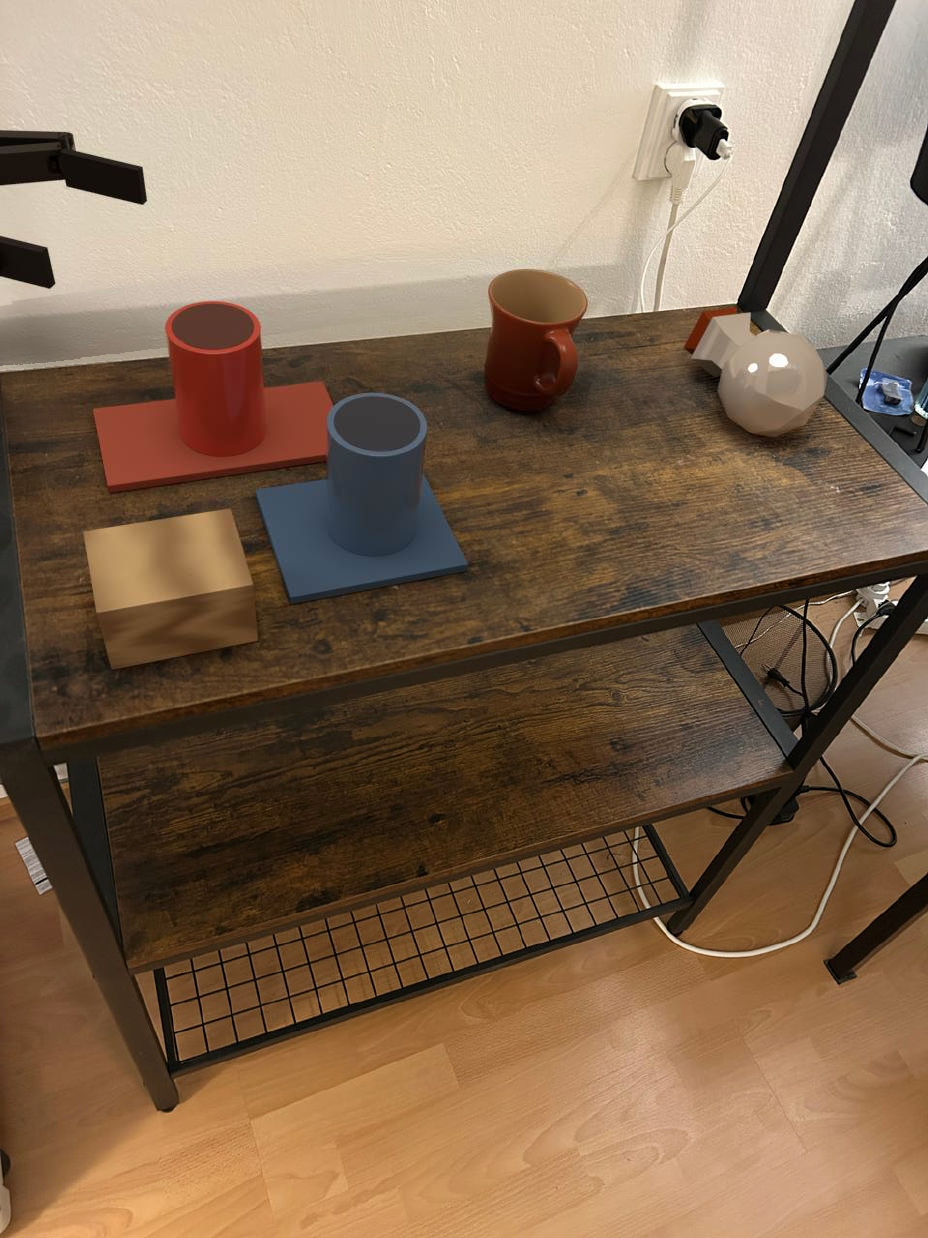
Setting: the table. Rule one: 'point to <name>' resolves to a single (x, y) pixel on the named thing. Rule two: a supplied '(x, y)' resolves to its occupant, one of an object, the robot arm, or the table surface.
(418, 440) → the blue cup
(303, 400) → the red mat
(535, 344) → the mug
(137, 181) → the robot arm
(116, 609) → the wooden block
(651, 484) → the table surface
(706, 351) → the potion bottle
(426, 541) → the blue mat
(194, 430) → the red cup
